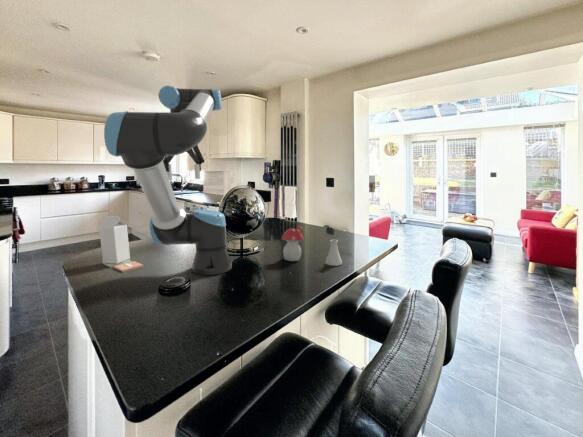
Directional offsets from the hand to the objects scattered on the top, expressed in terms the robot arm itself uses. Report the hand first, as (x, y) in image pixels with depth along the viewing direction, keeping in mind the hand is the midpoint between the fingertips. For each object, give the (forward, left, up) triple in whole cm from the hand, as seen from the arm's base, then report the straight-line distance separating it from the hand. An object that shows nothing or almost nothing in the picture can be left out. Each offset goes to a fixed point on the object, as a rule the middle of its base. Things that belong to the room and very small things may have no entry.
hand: (184, 179), depth 129 cm
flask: (-57, -31, -35) cm, 74 cm away
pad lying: (+7, +24, -35) cm, 42 cm away
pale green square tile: (+16, +24, -35) cm, 45 cm away
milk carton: (+16, +24, -34) cm, 45 cm away
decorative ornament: (-40, -25, -35) cm, 59 cm away
